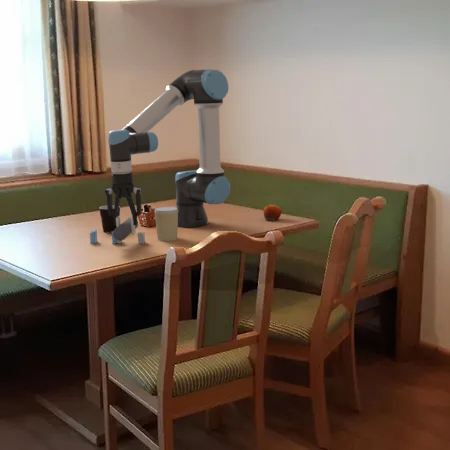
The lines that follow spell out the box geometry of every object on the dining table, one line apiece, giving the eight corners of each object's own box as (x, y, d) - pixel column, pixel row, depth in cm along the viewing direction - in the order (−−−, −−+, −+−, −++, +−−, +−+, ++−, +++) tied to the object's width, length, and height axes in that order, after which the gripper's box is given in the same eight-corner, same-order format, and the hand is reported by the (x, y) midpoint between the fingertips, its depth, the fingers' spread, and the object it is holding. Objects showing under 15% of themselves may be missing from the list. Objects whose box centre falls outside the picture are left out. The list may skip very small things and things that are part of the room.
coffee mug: (117, 233, 274) (115, 209, 272) (97, 232, 276) (95, 208, 273) (126, 227, 285) (125, 204, 283) (107, 226, 287) (106, 203, 285)
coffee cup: (182, 236, 266) (181, 206, 263) (175, 241, 257) (174, 211, 254) (159, 235, 268) (158, 206, 265) (152, 241, 259) (151, 210, 256)
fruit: (259, 218, 289) (262, 201, 291) (264, 225, 296) (267, 208, 298) (277, 220, 286) (280, 202, 288) (282, 226, 293) (284, 209, 295)
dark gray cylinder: (140, 227, 258) (135, 215, 257) (128, 237, 241) (123, 225, 240) (128, 231, 259) (123, 219, 258) (116, 242, 242) (110, 230, 241)
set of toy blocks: (144, 242, 257) (144, 230, 256) (142, 244, 254) (142, 232, 253) (92, 241, 260) (91, 230, 259) (89, 243, 257) (89, 231, 256)
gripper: (95, 174, 242) (100, 236, 248) (143, 173, 240) (147, 236, 245) (101, 171, 250) (106, 231, 255) (148, 170, 247) (152, 231, 252)
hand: (126, 233), depth 250 cm, fingers closed on dark gray cylinder, 5 cm apart
